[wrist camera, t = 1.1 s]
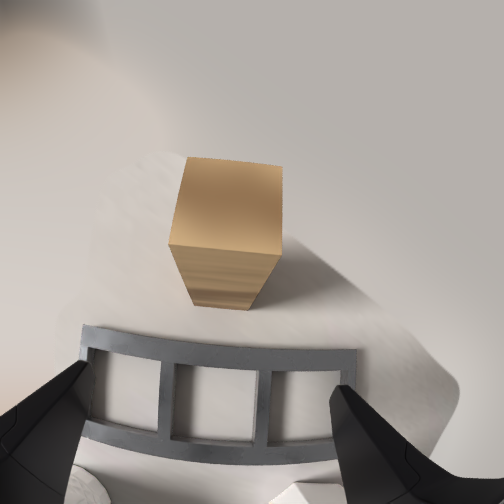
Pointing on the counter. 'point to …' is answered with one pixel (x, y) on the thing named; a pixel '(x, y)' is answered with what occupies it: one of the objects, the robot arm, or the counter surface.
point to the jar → (311, 494)
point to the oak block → (227, 230)
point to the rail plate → (217, 358)
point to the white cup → (85, 488)
